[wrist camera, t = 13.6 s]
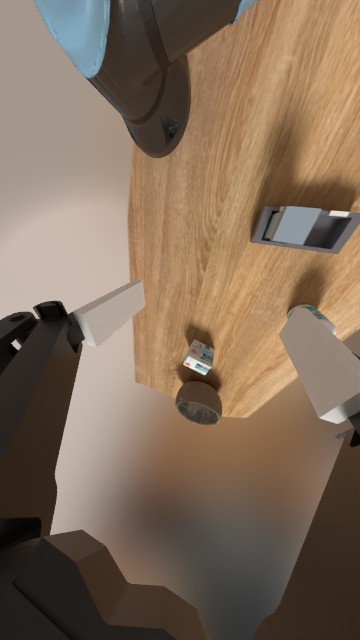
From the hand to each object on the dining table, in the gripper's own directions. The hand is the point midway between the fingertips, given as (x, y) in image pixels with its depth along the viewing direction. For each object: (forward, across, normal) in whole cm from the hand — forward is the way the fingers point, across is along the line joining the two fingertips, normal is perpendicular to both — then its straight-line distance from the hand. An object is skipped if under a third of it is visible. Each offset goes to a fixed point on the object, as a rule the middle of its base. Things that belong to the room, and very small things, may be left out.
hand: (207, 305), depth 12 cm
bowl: (+35, +4, -72) cm, 80 cm away
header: (+36, +16, +7) cm, 39 cm away
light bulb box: (+36, 0, -40) cm, 54 cm away
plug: (+35, +11, +7) cm, 37 cm away
